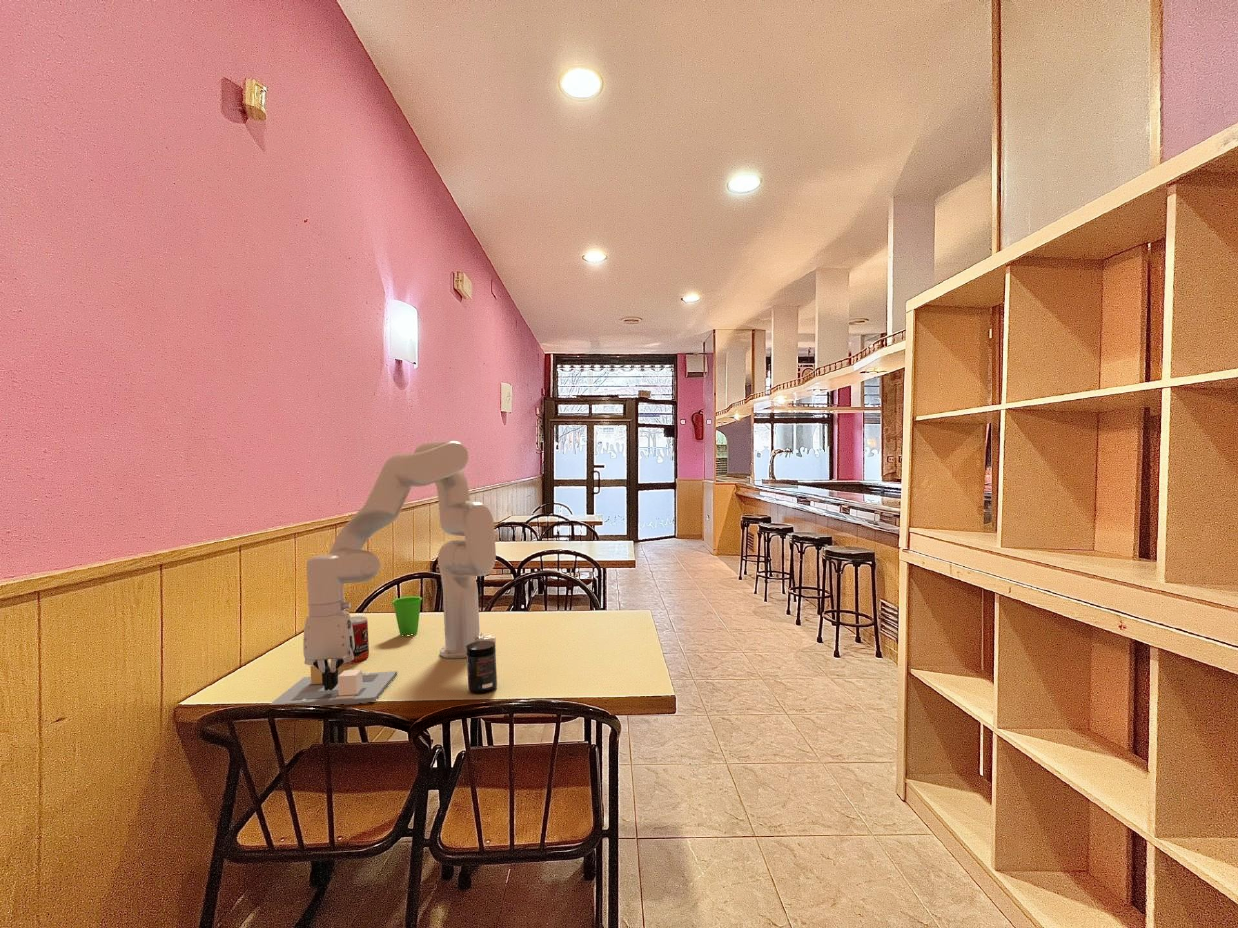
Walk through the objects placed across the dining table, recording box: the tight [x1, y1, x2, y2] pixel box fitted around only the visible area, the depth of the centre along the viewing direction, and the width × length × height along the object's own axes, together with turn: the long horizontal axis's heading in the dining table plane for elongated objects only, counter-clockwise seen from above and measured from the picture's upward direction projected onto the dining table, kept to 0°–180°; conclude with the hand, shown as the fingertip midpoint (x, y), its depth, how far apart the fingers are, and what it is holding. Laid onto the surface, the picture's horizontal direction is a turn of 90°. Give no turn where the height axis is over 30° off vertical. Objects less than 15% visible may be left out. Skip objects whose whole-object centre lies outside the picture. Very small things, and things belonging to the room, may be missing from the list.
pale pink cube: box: [338, 668, 363, 696], centre depth 140 cm, size 4×4×4 cm
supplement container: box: [466, 641, 498, 695], centre depth 141 cm, size 7×7×10 cm
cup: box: [391, 596, 423, 637], centre depth 191 cm, size 9×9×11 cm
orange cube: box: [309, 659, 331, 684], centre depth 148 cm, size 4×4×4 cm
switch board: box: [269, 670, 398, 706], centre depth 144 cm, size 23×17×1 cm
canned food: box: [346, 615, 370, 664], centre depth 168 cm, size 8×8×11 cm
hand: (330, 687), depth 139 cm, fingers closed
